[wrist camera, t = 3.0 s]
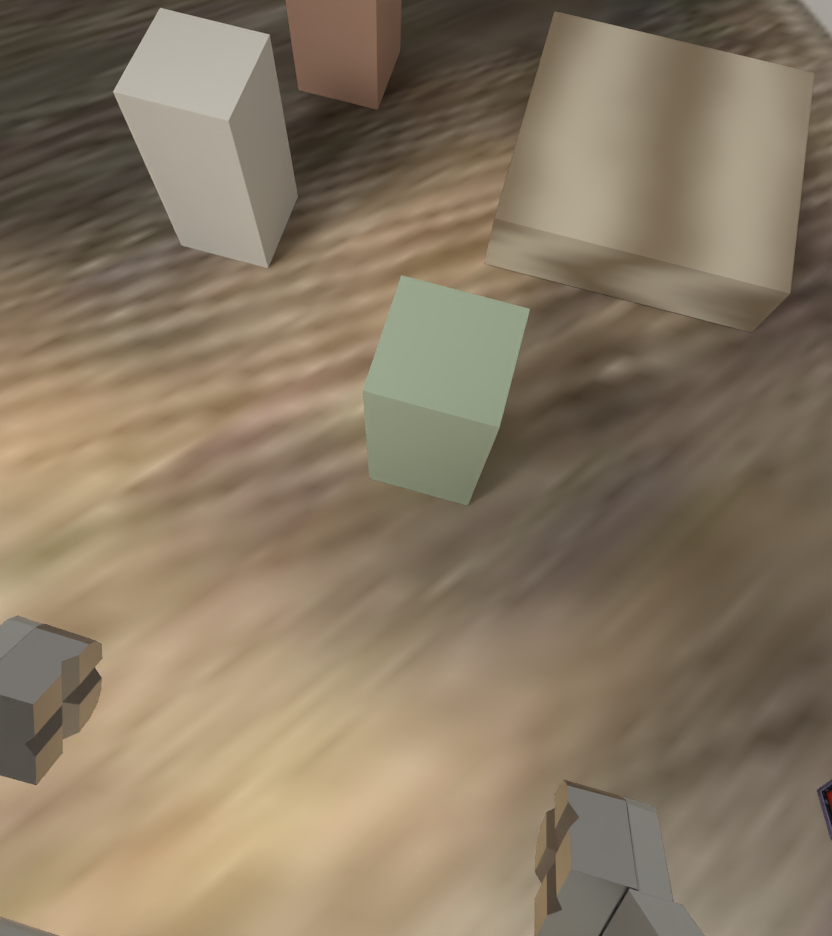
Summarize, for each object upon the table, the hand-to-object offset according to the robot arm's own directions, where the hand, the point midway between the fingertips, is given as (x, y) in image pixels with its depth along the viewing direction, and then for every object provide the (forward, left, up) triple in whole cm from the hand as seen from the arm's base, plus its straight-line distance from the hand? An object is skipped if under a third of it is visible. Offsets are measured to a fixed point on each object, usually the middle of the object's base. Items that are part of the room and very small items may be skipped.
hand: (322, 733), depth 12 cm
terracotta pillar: (-9, +29, -13) cm, 33 cm away
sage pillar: (0, +11, -13) cm, 17 cm away
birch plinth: (+6, +26, -13) cm, 29 cm away
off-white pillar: (-11, +19, -13) cm, 25 cm away
